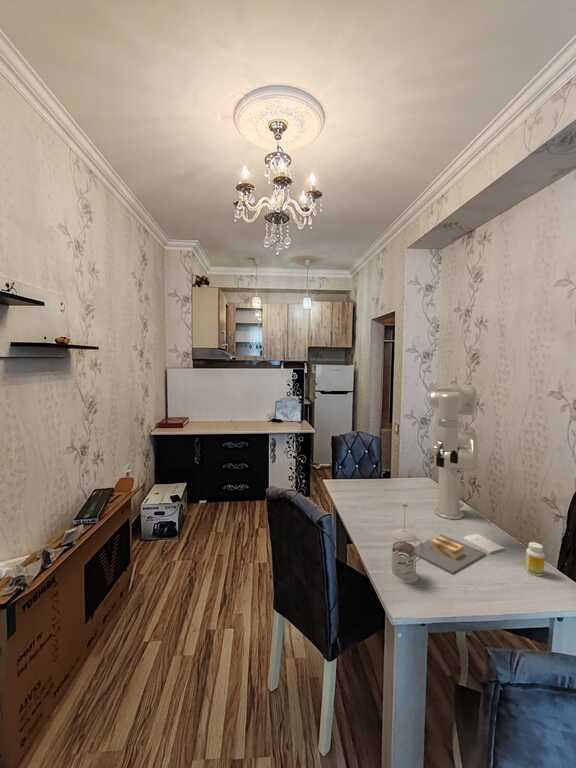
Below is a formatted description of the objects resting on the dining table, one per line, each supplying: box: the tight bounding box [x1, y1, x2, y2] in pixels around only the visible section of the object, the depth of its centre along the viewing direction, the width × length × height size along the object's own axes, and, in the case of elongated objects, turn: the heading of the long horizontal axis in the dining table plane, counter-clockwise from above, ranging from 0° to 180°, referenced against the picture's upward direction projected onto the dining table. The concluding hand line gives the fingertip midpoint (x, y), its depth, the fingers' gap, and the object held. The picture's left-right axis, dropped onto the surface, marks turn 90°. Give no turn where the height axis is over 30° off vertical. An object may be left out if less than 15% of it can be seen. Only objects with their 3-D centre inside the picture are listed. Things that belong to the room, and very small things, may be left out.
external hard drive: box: [462, 533, 506, 555], centre depth 142 cm, size 2×8×12 cm
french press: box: [388, 501, 424, 584], centre depth 121 cm, size 10×12×25 cm
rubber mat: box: [414, 533, 487, 575], centre depth 135 cm, size 22×18×1 cm
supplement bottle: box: [524, 541, 546, 577], centre depth 123 cm, size 5×5×10 cm
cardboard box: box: [429, 535, 464, 559], centre depth 135 cm, size 10×6×3 cm, turn 37°
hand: (447, 464), depth 146 cm, fingers open, 9 cm apart
